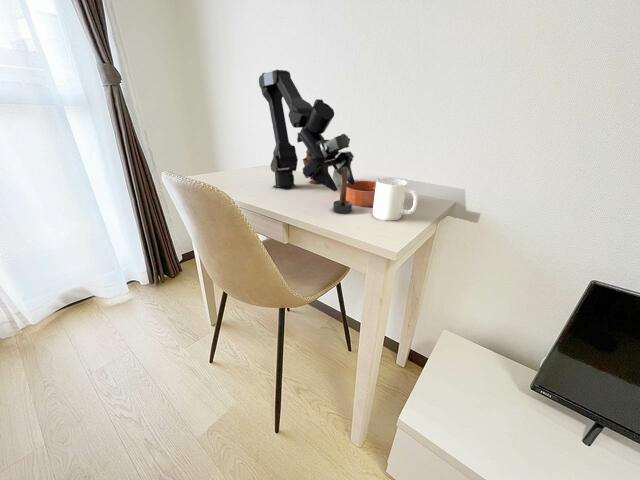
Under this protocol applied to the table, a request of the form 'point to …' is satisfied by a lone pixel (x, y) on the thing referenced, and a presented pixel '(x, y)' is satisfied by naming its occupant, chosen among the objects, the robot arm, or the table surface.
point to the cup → (392, 199)
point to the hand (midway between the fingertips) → (345, 187)
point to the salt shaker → (337, 176)
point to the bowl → (361, 193)
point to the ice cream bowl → (306, 163)
